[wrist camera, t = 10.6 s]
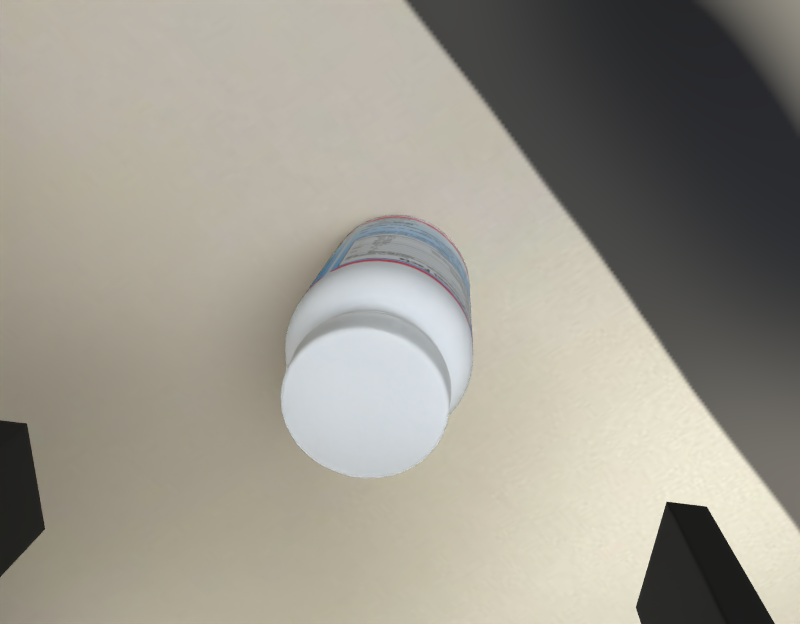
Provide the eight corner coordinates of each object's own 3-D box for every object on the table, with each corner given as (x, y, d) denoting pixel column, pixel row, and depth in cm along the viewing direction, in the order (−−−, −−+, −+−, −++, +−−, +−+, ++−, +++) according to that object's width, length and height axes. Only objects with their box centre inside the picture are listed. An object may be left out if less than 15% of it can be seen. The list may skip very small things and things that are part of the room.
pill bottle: (389, 366, 28) (347, 536, 18) (305, 265, 27) (205, 384, 16) (497, 294, 26) (522, 435, 16) (413, 182, 25) (380, 255, 14)
